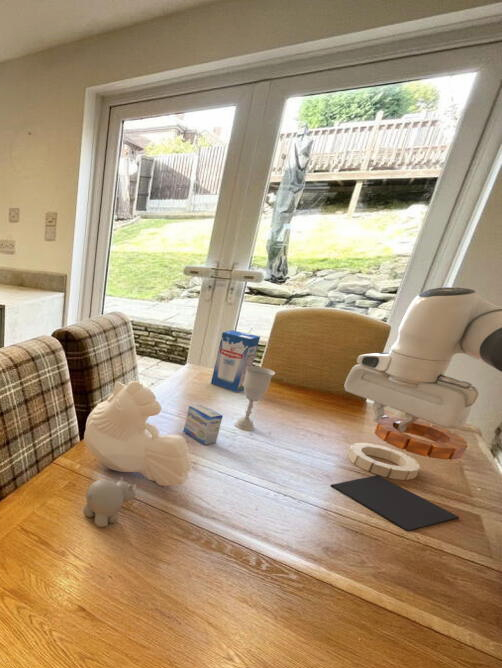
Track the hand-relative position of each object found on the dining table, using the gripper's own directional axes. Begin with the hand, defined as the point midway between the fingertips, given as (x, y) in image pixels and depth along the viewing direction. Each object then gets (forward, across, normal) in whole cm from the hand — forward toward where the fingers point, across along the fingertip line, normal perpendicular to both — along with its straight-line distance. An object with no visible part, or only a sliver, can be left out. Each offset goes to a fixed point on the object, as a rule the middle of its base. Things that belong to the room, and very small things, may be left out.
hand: (388, 426), depth 86 cm
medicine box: (+16, +28, +22) cm, 39 cm away
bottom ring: (+15, +5, -13) cm, 21 cm away
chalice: (+16, +30, +4) cm, 34 cm away
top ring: (+1, -5, 0) cm, 5 cm away
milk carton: (+16, +57, -16) cm, 61 cm away
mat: (+15, -6, +1) cm, 16 cm away
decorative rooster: (+16, +18, +51) cm, 56 cm away
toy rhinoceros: (+16, +6, +63) cm, 65 cm away
